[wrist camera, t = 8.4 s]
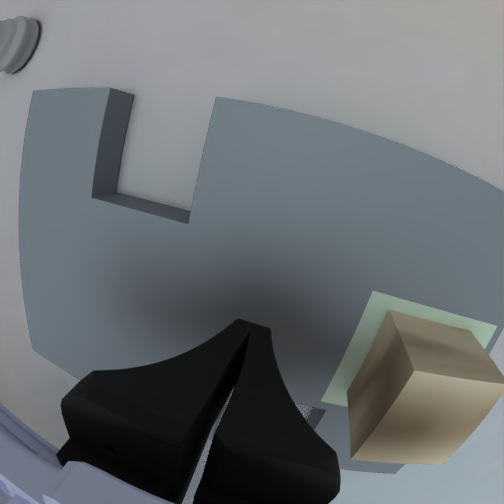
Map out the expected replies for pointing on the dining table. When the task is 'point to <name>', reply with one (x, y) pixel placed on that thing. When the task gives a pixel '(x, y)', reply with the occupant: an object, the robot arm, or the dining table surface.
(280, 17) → the dining table surface
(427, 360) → the oak block
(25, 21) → the rook chess piece
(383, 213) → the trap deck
